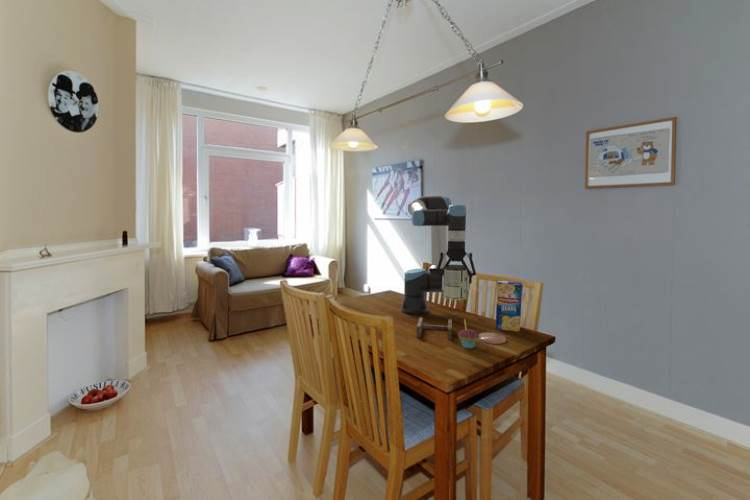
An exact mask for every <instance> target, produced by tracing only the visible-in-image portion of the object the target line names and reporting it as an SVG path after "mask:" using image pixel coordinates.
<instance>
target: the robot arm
mask: <svg viewBox="0 0 750 500" xmlns="http://www.w3.org/2000/svg"><path fill="white" fill-rule="evenodd" d="M466 206H467V205H465V204H452V201H451V198H450V197H448V196H442V195H439V196H438V195H437V196H436V195H435V196H434V195H433V196H419V197H418V196H417V197H415V198H413V199H412V200H410V201H409V203H408V205H407V210H408V211H407V212H408V213H409V215H410V216H411V222H412V223H411V224H412V225H413V226H415V227H430V237H431V238H430V240H431V241H430V245H431V247H430V249H431V250H430V251H431V252H430V253H431V257H430V258H431V265H430V266H429V267H428V271H426V269H425V268H413V269H409V270H407V271H405V272H404V279H403V280H404V285H403V286H404V291H403V292H404V297H403V299H402V303H401V306H400V310H401V312H403V313H405V314H408V315H409V314H411V315H421V314H425V313H426V314H427V313H428V312H429V307H428V302H427V299H426V293H440V294H441V293H442V294H444V266H445V267H448V265H450V264H451V262H454V263H455V262H457V263H461V265H463V266H464V267H467V266H468V265H467V263H466V262H465V259H464V258H465V257H467V259H469V263H470V267H471V270H470V268H469V267H468V268H467V292H469V291H470V285H471V284H472V282H473V281H472V280H473V279H472V278H473V277H474V276H476V275H477V272H476V268H475V264H474V260H473V252H466V241H465V240H466V234H467V233H466V232H467V231H466V226H467V207H466ZM471 271H472V272H471Z"/></svg>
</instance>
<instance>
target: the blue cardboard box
mask: <svg viewBox="0 0 750 500" xmlns="http://www.w3.org/2000/svg"><path fill="white" fill-rule="evenodd" d="M522 292H523V282H521V281H519V282H518V281H502V280H497V284H496V305H495V306H496V309H495V310H496V311H495V330H502V331H503V330H504V331H512V332H519V331H520V332H521V317H522V315H521V314H522Z"/></svg>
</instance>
